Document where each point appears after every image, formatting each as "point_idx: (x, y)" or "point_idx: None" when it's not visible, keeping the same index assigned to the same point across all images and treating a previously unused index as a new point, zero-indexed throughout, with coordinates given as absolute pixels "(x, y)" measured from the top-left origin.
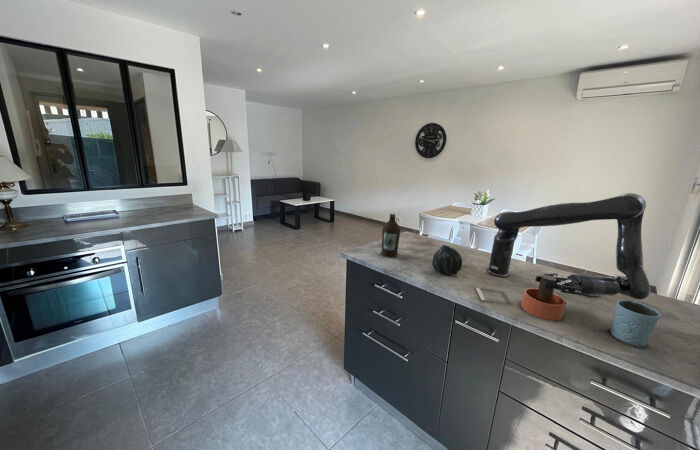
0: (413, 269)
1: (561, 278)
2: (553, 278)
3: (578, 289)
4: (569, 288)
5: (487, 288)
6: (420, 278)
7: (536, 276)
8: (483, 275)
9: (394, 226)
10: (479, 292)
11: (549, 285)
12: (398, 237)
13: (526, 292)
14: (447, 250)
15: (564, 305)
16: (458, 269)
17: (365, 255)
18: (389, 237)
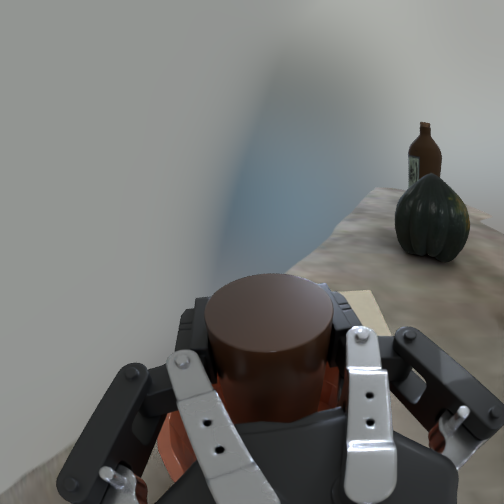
0: (386, 221)
1: (345, 441)
2: (254, 328)
3: (69, 467)
4: (105, 409)
5: (395, 316)
6: (349, 227)
7: (323, 284)
8: (487, 310)
9: (418, 143)
10: (340, 293)
11: (185, 317)
12: (426, 168)
13: (326, 364)
14: (420, 182)
15: (171, 476)
16: (428, 246)
17: (387, 194)
18: (409, 163)
